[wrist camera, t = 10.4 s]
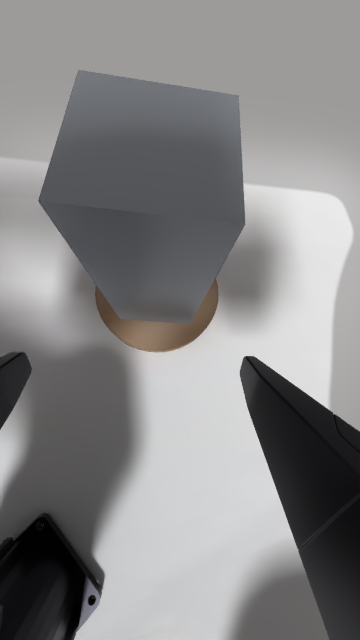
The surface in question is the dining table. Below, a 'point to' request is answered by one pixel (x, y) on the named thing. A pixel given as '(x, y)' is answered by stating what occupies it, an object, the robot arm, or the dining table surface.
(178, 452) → the dining table surface
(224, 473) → the dining table surface
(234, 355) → the dining table surface
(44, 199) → the block
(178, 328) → the stub base
